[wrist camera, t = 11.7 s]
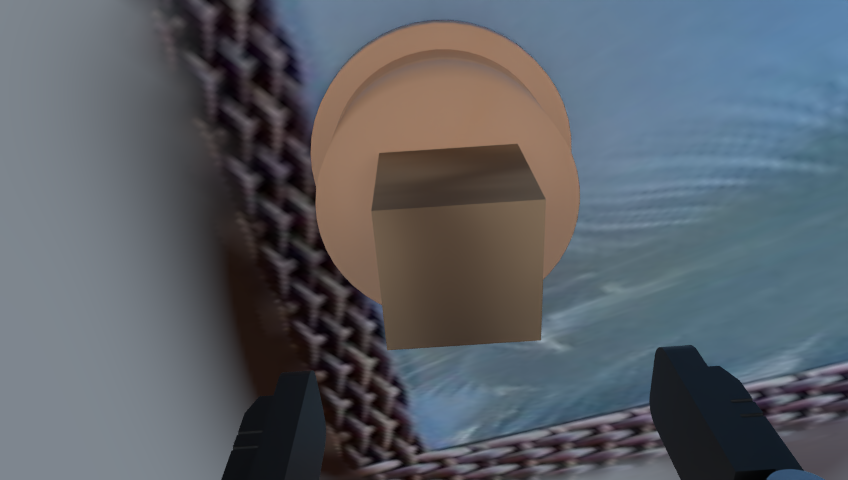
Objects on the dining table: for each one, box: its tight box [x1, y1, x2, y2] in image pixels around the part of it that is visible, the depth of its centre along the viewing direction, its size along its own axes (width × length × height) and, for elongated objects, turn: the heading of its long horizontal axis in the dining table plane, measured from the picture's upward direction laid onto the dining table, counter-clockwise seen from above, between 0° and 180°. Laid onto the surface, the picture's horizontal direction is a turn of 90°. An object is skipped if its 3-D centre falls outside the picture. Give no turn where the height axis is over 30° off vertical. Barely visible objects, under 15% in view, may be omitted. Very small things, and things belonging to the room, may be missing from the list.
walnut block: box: [371, 144, 546, 350], centre depth 20 cm, size 5×5×5 cm
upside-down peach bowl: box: [311, 20, 580, 305], centre depth 26 cm, size 12×12×7 cm
